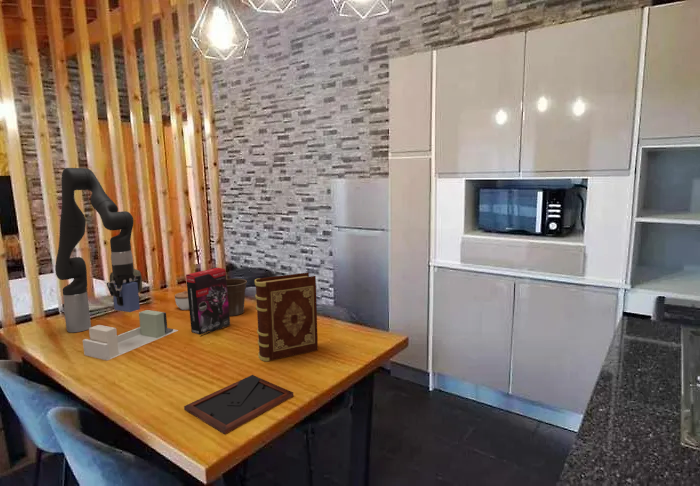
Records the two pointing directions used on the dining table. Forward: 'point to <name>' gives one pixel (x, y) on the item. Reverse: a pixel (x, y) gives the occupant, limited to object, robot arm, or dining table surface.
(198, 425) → the dining table surface
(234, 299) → the plant pot
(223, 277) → the graphics card box
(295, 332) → the decorative book
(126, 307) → the navy book
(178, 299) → the lidded jar
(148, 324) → the sage book
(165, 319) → the bookend
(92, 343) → the shelf board
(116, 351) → the ivory book
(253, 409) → the picture frame
